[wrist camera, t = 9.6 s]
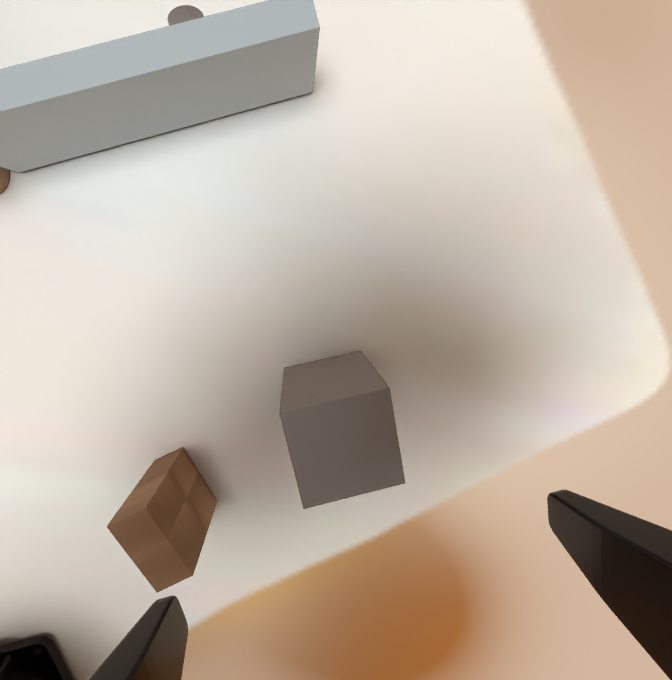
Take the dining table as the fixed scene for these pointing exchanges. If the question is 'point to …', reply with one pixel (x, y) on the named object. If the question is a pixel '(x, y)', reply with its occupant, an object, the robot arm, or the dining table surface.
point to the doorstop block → (339, 429)
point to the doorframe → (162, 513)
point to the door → (156, 81)
